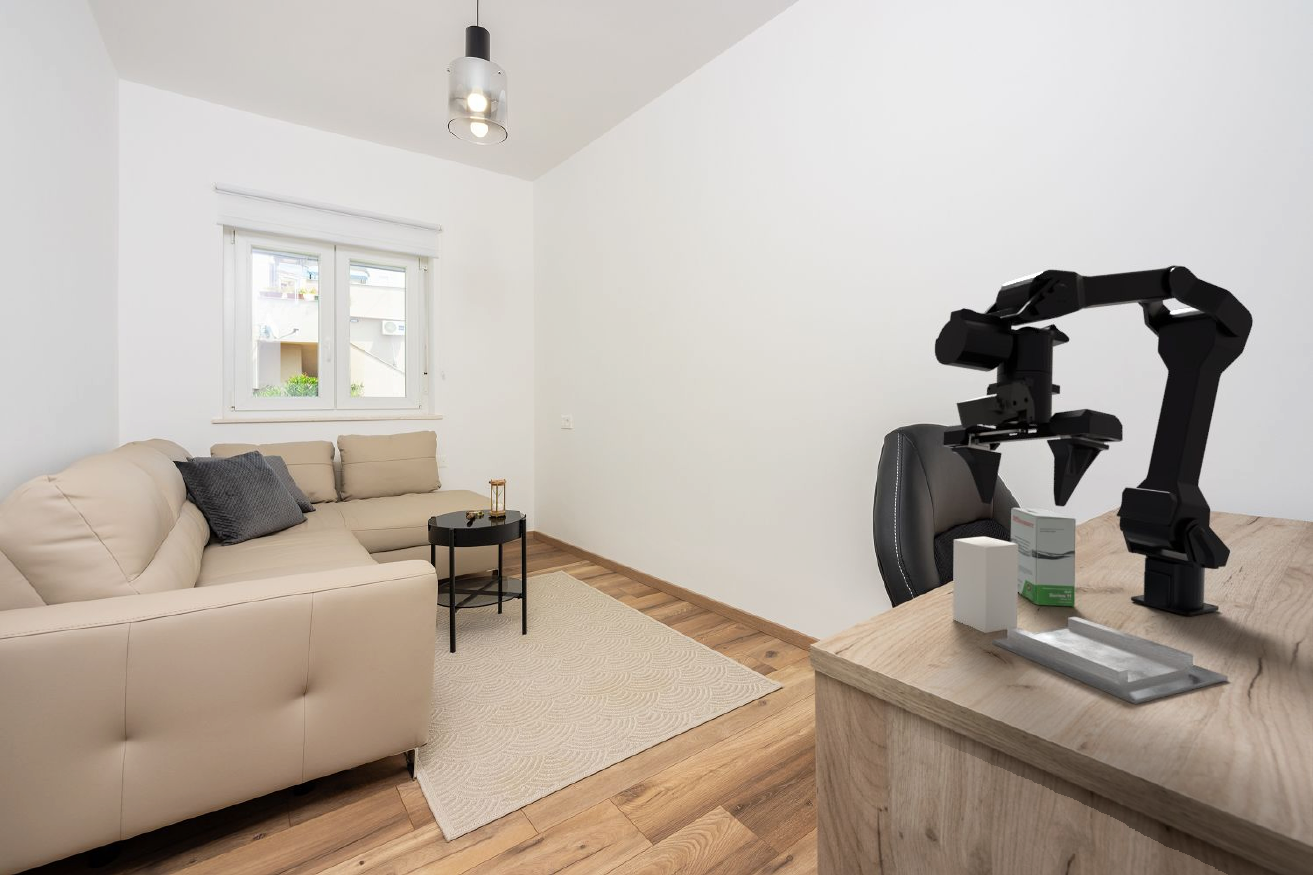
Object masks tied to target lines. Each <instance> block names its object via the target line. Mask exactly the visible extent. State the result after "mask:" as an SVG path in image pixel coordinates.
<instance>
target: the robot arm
mask: <svg viewBox="0 0 1313 875" xmlns="http://www.w3.org/2000/svg"><path fill="white" fill-rule="evenodd" d="M1171 299H1175V300H1176V301H1177V302H1179V303H1181V304H1183V305H1186V306H1188V307H1183V308H1177V309H1175V310H1170V309H1169V308H1168V307H1167V306H1166V305H1165V304H1164V301H1166V300H1171ZM1126 304H1128V305H1129V304H1138V305H1139V306H1140V307H1142V311H1143V320H1144V325H1145V327H1147V328H1148V329H1149V330H1150V331H1151V332H1152V333H1153V334H1154V335H1155V336H1156V337H1157V338H1158V339H1157V353H1158V355H1159V357H1160V359H1161V361H1162V362H1163V364H1164V365H1165V368H1166V369H1167V378H1166V382H1165V386H1164V393H1163V396H1162V401H1161V408H1160V412H1159V417H1158V420H1157V426H1156V431H1155V435H1154V441H1153V445H1152V449H1151V455H1150V460H1149V465H1148V469H1147V470H1148V471H1147V474H1146V478H1144V479H1143V480H1142V481H1141V482H1140V483H1138V485H1137V486H1136V487H1131V486H1126V487H1124V489H1123V491H1122V492H1121V503H1120V507H1119V509H1118V511H1117V513H1116V517H1119V524H1118V525H1119V531H1121V532H1122V535H1123V538H1124V541H1125V545H1126V548H1127V552H1128V553H1130V554H1137V555H1141V556H1145V558H1144V571H1143V594H1141V595H1140V594H1139V595H1135V596H1131V597H1130V600H1131V602H1134V603H1138V604H1142V605H1145V606H1149V607H1153V608H1156V609H1160V610H1163V611H1168V612H1170V613H1171V612H1172V613H1175V614H1179V615H1182V616H1188V617H1189V616H1195V615H1196V616H1197V615H1200V614H1206V613H1211V612H1216V611H1219V606H1218V605H1216V604H1211V603H1207V602H1205V579H1206V578H1205V576H1206V571H1205V570H1206V569H1208V570H1209V569H1211V570H1219V568H1221V567H1222V568H1225V567H1226V566H1227V562H1228V560H1229V557H1230V554H1231V549H1229V547H1228V546H1227V545H1226V544H1225V542H1223V541H1222V539H1221V538H1220V537H1219V536H1218V535H1217V534H1216V532H1215V531H1214V530H1213V529H1212V528H1211V526H1210V525H1211V524H1210V523H1211V521H1210V519H1211V508H1210V505H1209V504H1208V501H1207V499H1206V498H1205V496H1204V494H1203V492H1202V490H1201V488H1200V486H1199V483H1200V476H1201V472H1202V466H1203V464H1204V458H1205V457H1204V456H1205V453H1206V447H1207V444H1208V438H1209V434H1210V428H1211V425H1212V424H1211V422H1212V418H1213V415H1214V408H1215V404H1216V400H1217V395H1218V390H1219V385H1220V380H1221V376H1222V374H1223V373H1224V372H1225V371H1226V370H1227V369H1228V368H1229V367H1230V366H1231V365H1232V364H1233V363H1234V362H1235V361H1236V360H1237V359H1238V358H1239V357H1240V356H1241V355H1243V352H1244V350H1245V347H1246V344H1247V341H1248V340H1249V336H1250V335H1251V334H1250V333H1251V332H1252V327H1253V323H1254V321H1253V316H1252V314H1251V312H1250V310H1249V309H1248V308H1247V307H1246V306H1245V305H1244V304H1243V303H1242V302H1240V300H1239V299H1238V298H1237V297H1236V296H1235V295H1234V294H1233V293H1232V292H1231V291H1229V289H1226V288H1223V287H1221V286H1218V285H1215V284H1213V283H1211V282H1209V281H1206V280H1203V279H1200V278H1198V277H1197V276H1196V275H1195V274H1194V273H1193V272H1192V270H1190V268H1187V267H1186V266H1185V265H1184V266H1182V265H1169V266H1166V267H1162V268H1156V269H1147V270H1146V269H1145V270H1137V271H1130V272H1129V271H1127V272H1120V273H1109V274H1101V275H1100V274H1099V275H1090V276H1089V275H1083V274H1082V275H1081V274H1080V273H1078V272H1076V271H1071V270H1062V269H1061V270H1060V269H1047V270H1044V271H1040V272H1037V273H1034V274H1031V275H1028V276H1024V277H1021V278H1017V279H1014V280H1011V281H1008V282H1006V283H1004V284H1003V285H1001V286H1000V288H999V291H998V293H997V296H996V299H995V300H994V301H993V302H992V304H991V305H990V306H989V307H988V308H987V309H986V310H985V311H984V312H978V311H975V310H973V309H970V308H965V307H963V308H959V309H955V310H952V311H951V312H950V315H949V316H950V317H949V321H947V322H946V323H945V324H944V325H943V327H942V328H941V330H940V332H939V334H938V337H937V338H936V339H935V342H934V354H935V358H936V360H937V362H938V363H939V364H941V365H942V366H943V365H944V366H951V367H955V368H956V367H957V368H963V369H967V370H968V369H969V370H973V371H979V372H987V373H989V372H991V371H993V370H995V369H996V382H993V383H989V384H988V386H987V387H986V395H983V396H979V397H976V398H975V397H974V398H970V399H967V400H963V401H959V402H956V407H957V412H958V416H959V421H960V424H958V425H957V424H955V425H949V426H948V427H947V428H946V429H945V430H944V431H943V438H942V439H943V440H942V442H943V443H942V447H945V448H950V451H951V453H952V454H953V453H954V454H956V455H957V454H958V455H959V457H961V458H962V459H963V460H964V462H965V463H966V465H967V466H968V468H969V471H970V473H971V475H972V478H973V481H974V485H975V486H976V490H977V493H978V496H979V498H980V501H981V503H982V504H983V505H984V504H985V505H991V504H992V501H993V498H994V495H995V490H996V486H997V480H998V474H999V468H1000V465H1001V459H1002V452H997V451H996V450H997V449H998V448H999V447H1000V445H1001V443H1011V442H1013V443H1014V442H1023V441H1024V442H1025V441H1038V440H1046V443H1047V445H1048V447H1049V449H1050V451H1051V453H1052V455H1053V459H1054V460H1053V498H1054V499H1053V500H1054V505H1055V506H1056V507H1065V506H1066V505H1067V504H1068V501H1069V500H1070V498H1071V497H1072V495H1073V493H1074V491H1076V490H1075V489H1076V488H1077V486H1078V485H1079V483H1080V481H1081V480H1082V479H1083V477H1084V475H1085V474H1086V471H1087V470H1089V468H1090V466H1091V465H1092V464H1093V463H1094V461H1095V460H1096V459H1097V458H1098V456H1099V455H1100V454H1101V452H1103V451H1109V450H1110V444H1108V443H1117V442H1118V443H1119V442H1122V441H1123V436H1124V435H1123V432H1124V431H1123V429H1124V428H1123V424H1122V422H1121V421H1120V419H1119V418H1118V417H1117V416H1116V415H1115V414H1111V413H1106V412H1103V411H1098V410H1094V409H1089V408H1083V409H1074V410H1065V411H1059V412H1054V413H1053V411H1052V410H1053V396H1055V395H1060V394H1061V385H1059V384H1056V383H1055V384H1054V383H1053V375H1054V374H1053V372H1054V371H1053V368H1054V367H1053V366H1054V363H1053V362H1054V361H1053V360H1054V358H1053V357H1054V347H1058V346H1059V345H1060V346H1061V345H1064V344H1067V343H1068V342H1070V337H1069V336H1068V335H1067V334H1066V333H1065V332H1063V331H1062V330H1060V329H1059V328H1058V327H1057V325H1056V324H1054V323H1053V324H1049V325H1047V326H1044V327H1035V326H1029V325H1028V324H1032V323H1037V322H1039V323H1040V322H1043V321H1047V320H1052V319H1058V318H1061V317H1064V316H1067V315H1070V314H1074V313H1076V312H1078V311H1082V310H1084V309H1085V310H1087V309H1091V308H1093V309H1094V308H1103V307H1112V306H1120V305H1126ZM1023 325H1028V326H1023ZM1018 326H1022V327H1019V328H1018V329H1014V328H1013V327H1018ZM991 426H992V427H991ZM1031 431H1034V432H1031ZM1105 443H1107V444H1105Z"/></svg>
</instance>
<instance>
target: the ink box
mask: <svg viewBox="0 0 1313 875" xmlns="http://www.w3.org/2000/svg"><path fill="white" fill-rule="evenodd" d="M1010 514H1011V515H1010V516H1011V517H1010V542H1011V543H1016V544H1018V592H1019V593H1018V594H1020V595H1021V594H1022V596H1023V597H1024V598H1026V599H1027V598H1028V599H1027V600H1029V601H1030V602H1032V603H1034V604H1035V605H1038V606H1059V607H1075V603H1076V602H1075V600H1076V597H1075V593H1076V589H1075V588H1076V587H1075V586H1076V585H1075V584H1076V522H1077V521H1076V520H1077V519H1076V518H1075V517H1071V516H1067V515H1065V514H1061V513H1058V512H1056V511H1052V510H1050V509H1046V508H1044V509H1043V508H1042V509H1041V508H1031V507H1030V508H1028V507H1012V508H1011V510H1010Z"/></svg>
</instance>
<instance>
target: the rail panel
mask: <svg viewBox="0 0 1313 875" xmlns="http://www.w3.org/2000/svg"><path fill="white" fill-rule="evenodd" d="M1006 631H1007V637H1003V638H997V639H993V640H992V644H993V645H995V646H997V647H1000V648H1002V649H1004V650H1006V651H1010V652H1012V653H1013V654H1016V655H1018V656H1021V657H1023V658H1025V659H1028V660H1030V661H1033V662H1035V663H1038V664H1040V665H1042V666H1044V667H1047V668H1049V669H1051V670H1053V671H1056V672H1059V673H1061V674H1064V675H1065V676H1068V677H1070V678H1073V679H1075V680H1077V681H1079V682H1082V683H1085V684H1087V685H1090V686H1091V687H1093V688H1096V689H1098V690H1101V691H1103V692H1105V693H1108V694H1111V695H1113V696H1114V697H1117V698H1119V699H1122V700H1124V701H1127V702H1130V703H1132V704H1134V705H1137V704H1140V703H1145V702H1149V701H1153V700H1156V699H1160V698H1164V697H1168V696H1173V695H1176V694H1181V693H1183V692H1188V691H1192V690H1195V689H1199V688H1203V687H1207V686H1211V685H1215V684H1218V683H1223V682H1227V681H1228V680H1229V679H1228V675H1225V674H1223V673H1222V674H1221V673H1219V672H1217V671H1213V670H1211V669H1208V668H1204V667H1202V666H1199V665H1195V664H1194V654H1193V653H1189V652H1186V651H1182V650H1179V649H1177V648H1173V647H1170V646H1168V645H1164V644H1161V643H1159V642H1155V641H1152V640H1150V639H1145V638H1143V637H1139V636H1137V635H1133V634H1130V633H1128V632H1125V631H1124V632H1123V631H1122V630H1118V629H1115V628H1111V627H1109V626H1105V625H1102V624H1099V623H1096V622H1093V621H1090V620H1088V619H1083V618H1081V617H1078V616H1072V617H1067V626H1064V627H1058V628H1052V629H1046V630H1042V631H1036V632H1030V631H1027V630H1024V629H1022V628H1019V627H1018V626H1017V627H1013V628H1008V629H1007V630H1006Z"/></svg>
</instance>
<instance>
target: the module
mask: <svg viewBox="0 0 1313 875" xmlns="http://www.w3.org/2000/svg"><path fill="white" fill-rule="evenodd" d="M952 563H953V564H952V565H953V567H952V568H953V571H952V574H953V576H952V577H953V581H952V582H953V584H952V587H953V588H952V597H953V598H952V620H953V619H954V620H953V621H955V620H956V621H955V622H957V621H958V622H957V623H960V624H962V623H963V625H965V626H967V625H969V626H968V627H970V626H971V627H970V628H972V627H973V628H972V629H975V630H978V631H980V632H982V633H983V634H984V633H985V634H986V633H991V632H998V631H1004V630H1005V631H1006V630H1008V628H1013V627H1017V628H1018V596H1019V595H1018V594H1019V593H1018V544H1016V543H1011V541H1007V540H1003V539H997V538H992V537H988V536H973V537H966V538H957V539H956V538H955V539H953V562H952Z"/></svg>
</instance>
